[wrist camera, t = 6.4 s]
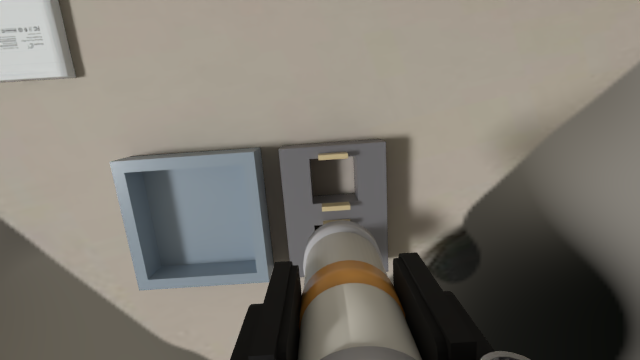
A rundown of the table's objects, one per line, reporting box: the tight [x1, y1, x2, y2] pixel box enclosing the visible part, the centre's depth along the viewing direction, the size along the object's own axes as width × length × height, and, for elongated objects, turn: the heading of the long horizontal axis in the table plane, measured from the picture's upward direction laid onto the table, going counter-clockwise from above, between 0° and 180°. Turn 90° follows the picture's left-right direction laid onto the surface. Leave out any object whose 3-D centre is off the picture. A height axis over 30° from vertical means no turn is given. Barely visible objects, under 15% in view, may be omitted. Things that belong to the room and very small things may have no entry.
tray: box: [110, 147, 274, 290], centre depth 28 cm, size 12×12×3 cm
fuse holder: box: [278, 139, 388, 277], centre depth 27 cm, size 9×12×4 cm
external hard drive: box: [0, 0, 76, 82], centre depth 25 cm, size 2×8×12 cm
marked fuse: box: [298, 220, 422, 360], centre depth 9 cm, size 3×3×8 cm
